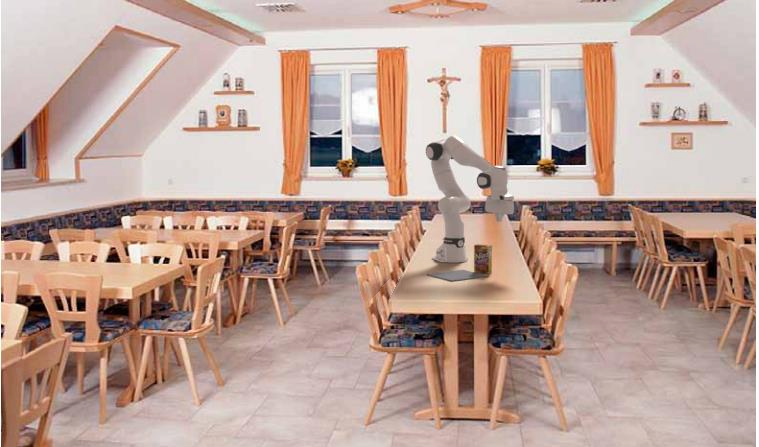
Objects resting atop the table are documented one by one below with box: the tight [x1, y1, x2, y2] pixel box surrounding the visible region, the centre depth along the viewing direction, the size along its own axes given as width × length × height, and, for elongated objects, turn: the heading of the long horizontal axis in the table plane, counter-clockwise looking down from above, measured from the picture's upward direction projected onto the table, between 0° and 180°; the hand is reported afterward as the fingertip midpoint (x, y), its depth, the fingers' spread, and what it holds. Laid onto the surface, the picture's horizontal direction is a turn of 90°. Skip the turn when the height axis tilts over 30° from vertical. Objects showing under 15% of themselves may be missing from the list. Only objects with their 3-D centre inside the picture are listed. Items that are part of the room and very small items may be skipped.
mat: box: [426, 269, 489, 283], centre depth 409 cm, size 22×24×1 cm
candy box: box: [473, 243, 493, 275], centre depth 417 cm, size 9×4×15 cm, turn 56°
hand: (499, 221), depth 421 cm, fingers closed
